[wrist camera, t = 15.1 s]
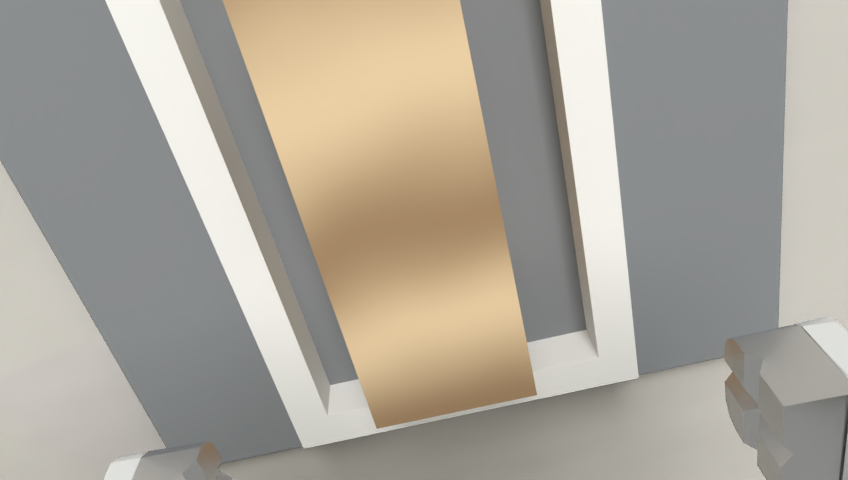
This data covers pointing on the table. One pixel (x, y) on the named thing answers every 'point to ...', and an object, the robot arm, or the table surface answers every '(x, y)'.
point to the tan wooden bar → (394, 194)
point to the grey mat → (514, 175)
